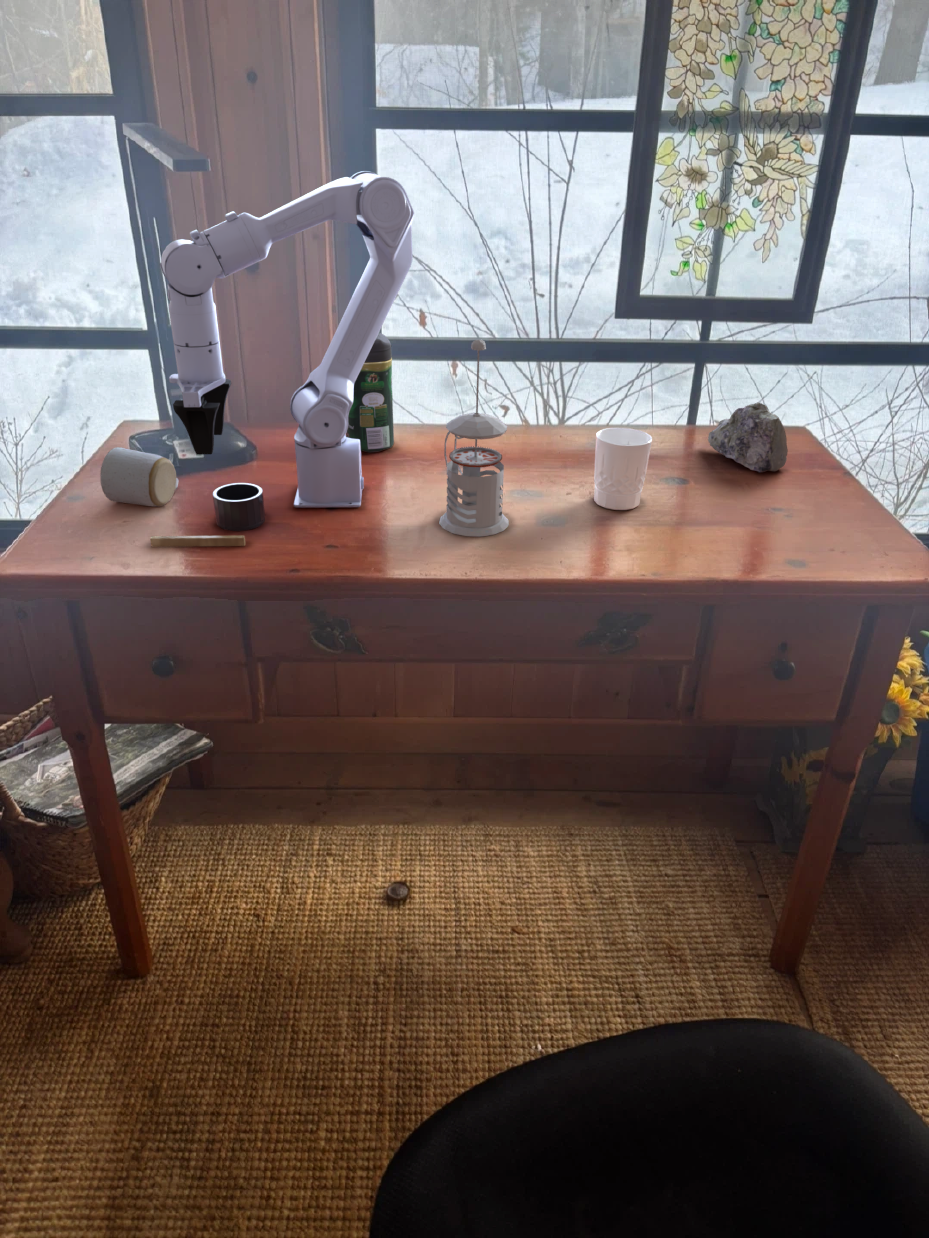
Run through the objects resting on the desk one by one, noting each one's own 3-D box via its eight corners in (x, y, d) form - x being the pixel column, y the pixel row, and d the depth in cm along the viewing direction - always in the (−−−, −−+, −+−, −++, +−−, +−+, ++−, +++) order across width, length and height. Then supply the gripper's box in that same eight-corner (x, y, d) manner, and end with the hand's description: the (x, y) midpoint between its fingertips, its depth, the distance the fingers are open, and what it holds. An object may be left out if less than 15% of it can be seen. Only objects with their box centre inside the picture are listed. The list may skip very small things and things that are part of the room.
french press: (462, 542, 122) (466, 353, 109) (419, 511, 130) (418, 332, 117) (523, 527, 126) (533, 343, 113) (477, 498, 135) (482, 324, 122)
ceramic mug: (156, 515, 127) (148, 463, 123) (103, 509, 128) (94, 456, 125) (193, 489, 136) (187, 439, 132) (143, 483, 137) (135, 433, 134)
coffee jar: (342, 436, 157) (336, 325, 148) (388, 433, 159) (385, 324, 149) (349, 455, 149) (344, 340, 139) (397, 452, 151) (395, 338, 141)
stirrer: (249, 540, 120) (203, 494, 116) (248, 543, 119) (202, 496, 116) (193, 582, 123) (147, 539, 119) (192, 585, 122) (146, 541, 118)
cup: (268, 511, 129) (265, 482, 127) (262, 530, 123) (259, 501, 121) (220, 511, 129) (217, 483, 127) (212, 531, 123) (208, 501, 121)
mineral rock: (703, 446, 156) (712, 388, 151) (765, 447, 156) (777, 389, 151) (722, 473, 145) (733, 412, 140) (789, 475, 145) (802, 413, 140)
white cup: (649, 497, 136) (658, 432, 131) (635, 516, 130) (643, 449, 125) (599, 487, 139) (605, 424, 134) (582, 506, 133) (588, 440, 128)
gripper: (176, 328, 123) (190, 426, 130) (151, 356, 110) (167, 462, 117) (229, 329, 123) (240, 426, 130) (210, 356, 111) (223, 462, 118)
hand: (209, 443), depth 124 cm, fingers open, 7 cm apart
